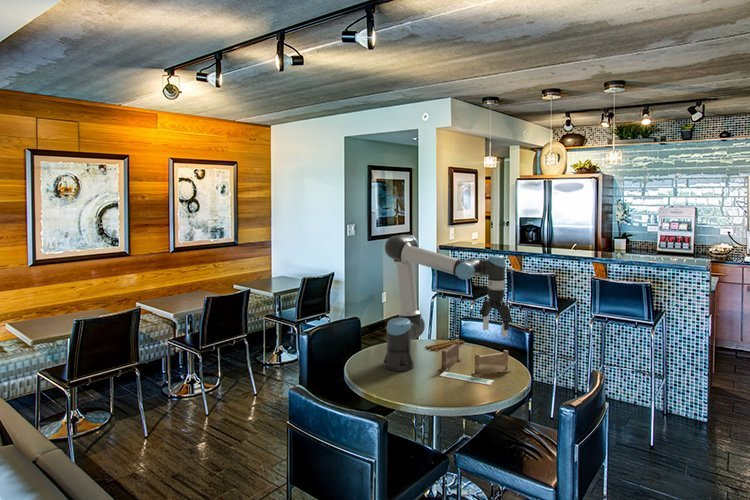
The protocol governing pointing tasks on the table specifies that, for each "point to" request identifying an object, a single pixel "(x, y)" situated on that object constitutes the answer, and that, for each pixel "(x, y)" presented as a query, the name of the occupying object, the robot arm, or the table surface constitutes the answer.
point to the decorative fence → (443, 345)
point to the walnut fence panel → (450, 357)
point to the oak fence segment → (491, 363)
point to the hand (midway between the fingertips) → (494, 333)
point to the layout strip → (467, 378)
